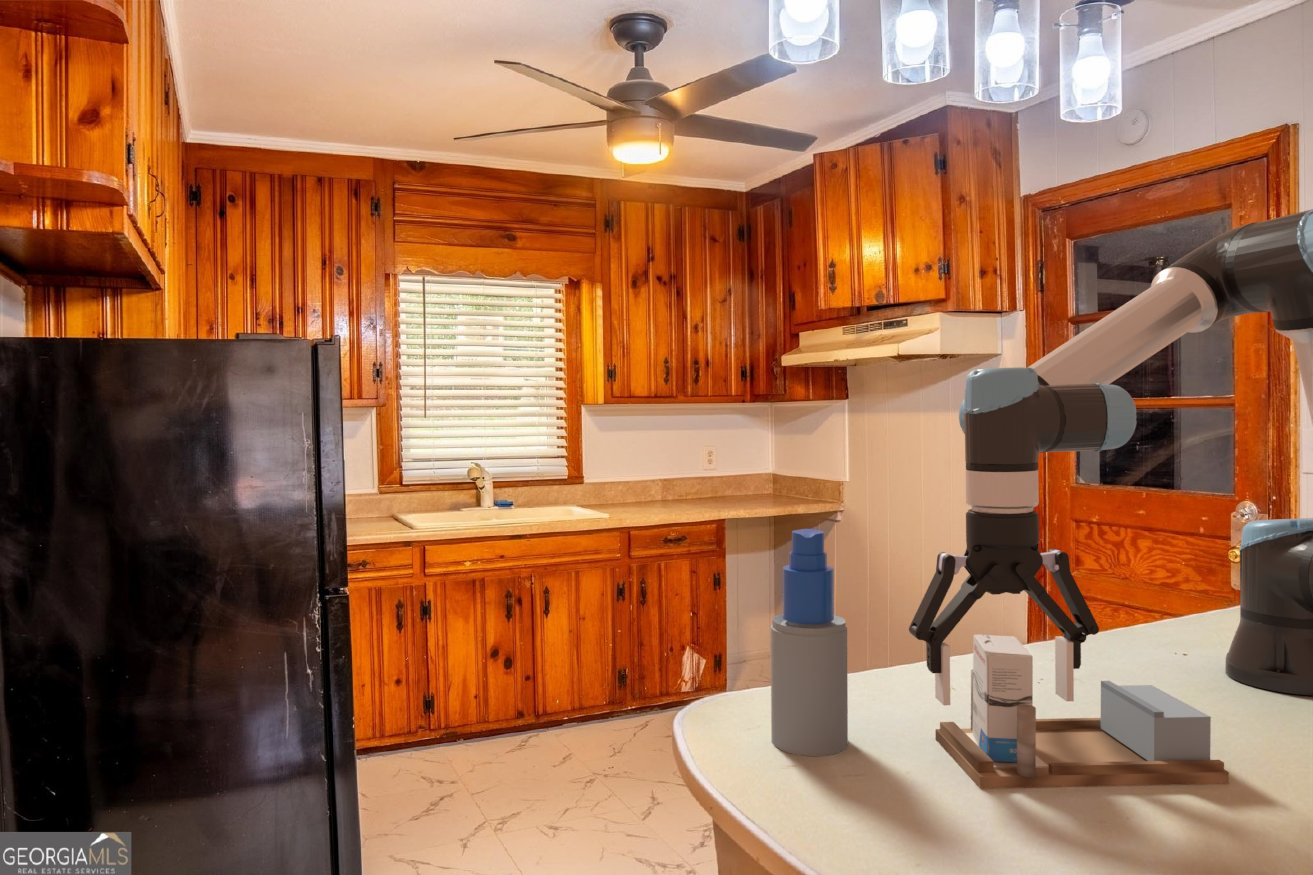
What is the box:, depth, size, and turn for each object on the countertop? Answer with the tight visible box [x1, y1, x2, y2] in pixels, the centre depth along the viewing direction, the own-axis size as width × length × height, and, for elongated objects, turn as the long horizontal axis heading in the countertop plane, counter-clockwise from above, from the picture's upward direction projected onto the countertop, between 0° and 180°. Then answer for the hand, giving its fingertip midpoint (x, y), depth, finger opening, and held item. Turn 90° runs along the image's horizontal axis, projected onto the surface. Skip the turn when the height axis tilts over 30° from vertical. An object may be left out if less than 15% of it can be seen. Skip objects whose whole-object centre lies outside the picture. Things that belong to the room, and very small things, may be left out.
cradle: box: [935, 668, 1230, 789], centre depth 101 cm, size 26×15×8 cm, turn 91°
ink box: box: [972, 634, 1034, 762], centre depth 101 cm, size 8×5×12 cm, turn 171°
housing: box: [1100, 680, 1212, 761], centre depth 101 cm, size 6×11×6 cm, turn 1°
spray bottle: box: [770, 528, 849, 757], centre depth 107 cm, size 9×9×25 cm
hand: (1003, 699), depth 101 cm, fingers open, 13 cm apart
